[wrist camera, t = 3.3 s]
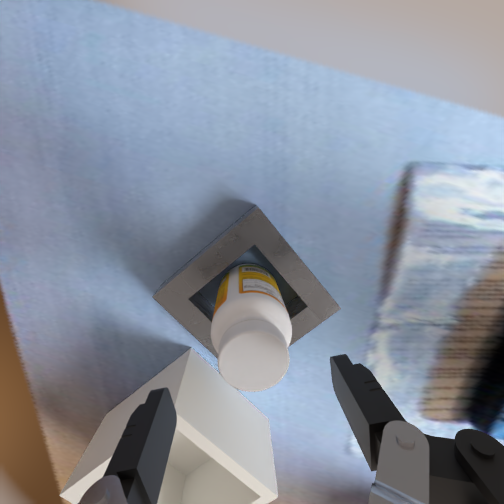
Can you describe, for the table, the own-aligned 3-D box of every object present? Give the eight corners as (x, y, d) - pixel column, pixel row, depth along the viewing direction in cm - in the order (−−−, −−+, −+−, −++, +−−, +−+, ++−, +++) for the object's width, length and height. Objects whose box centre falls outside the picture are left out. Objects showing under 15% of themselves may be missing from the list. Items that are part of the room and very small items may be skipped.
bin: (191, 347, 24) (173, 410, 18) (268, 418, 27) (278, 497, 20) (106, 414, 26) (59, 495, 19) (187, 474, 29) (171, 564, 22)
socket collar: (256, 204, 21) (258, 207, 19) (330, 295, 24) (340, 308, 21) (161, 284, 22) (152, 296, 20) (241, 362, 25) (241, 381, 23)
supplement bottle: (235, 325, 24) (232, 416, 15) (207, 278, 23) (185, 346, 13) (286, 301, 24) (317, 379, 14) (261, 252, 22) (277, 302, 13)
